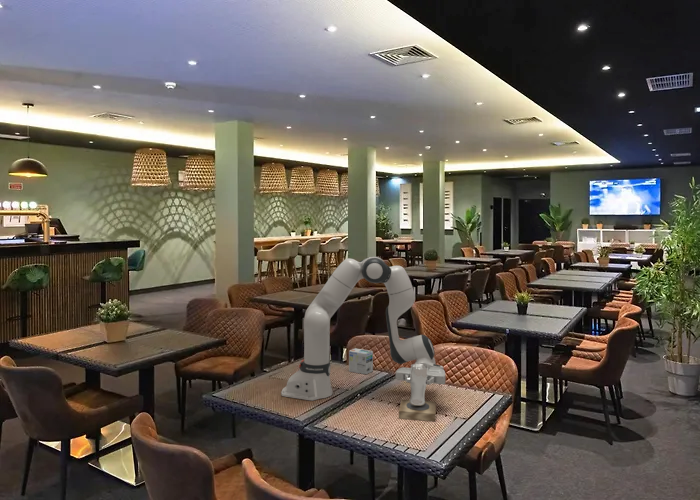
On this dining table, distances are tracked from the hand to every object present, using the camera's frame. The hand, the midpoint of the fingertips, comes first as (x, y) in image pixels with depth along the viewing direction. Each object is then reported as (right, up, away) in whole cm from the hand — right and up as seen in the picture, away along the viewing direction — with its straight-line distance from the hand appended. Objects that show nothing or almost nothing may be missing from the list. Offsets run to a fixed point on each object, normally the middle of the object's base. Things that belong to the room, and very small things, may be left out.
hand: (418, 381), depth 203 cm
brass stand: (0, -13, +2) cm, 13 cm away
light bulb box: (-22, -10, +56) cm, 61 cm away
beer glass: (0, -9, +2) cm, 9 cm away
